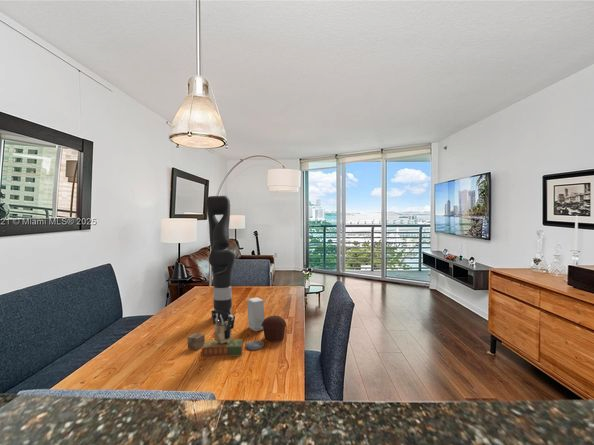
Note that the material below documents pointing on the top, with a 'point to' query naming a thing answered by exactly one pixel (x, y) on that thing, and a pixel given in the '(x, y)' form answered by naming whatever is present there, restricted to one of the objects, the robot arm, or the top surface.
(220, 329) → the oak block
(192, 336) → the walnut block
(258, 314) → the skincare box
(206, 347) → the carton
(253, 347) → the grey disc
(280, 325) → the muffin
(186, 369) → the top surface
